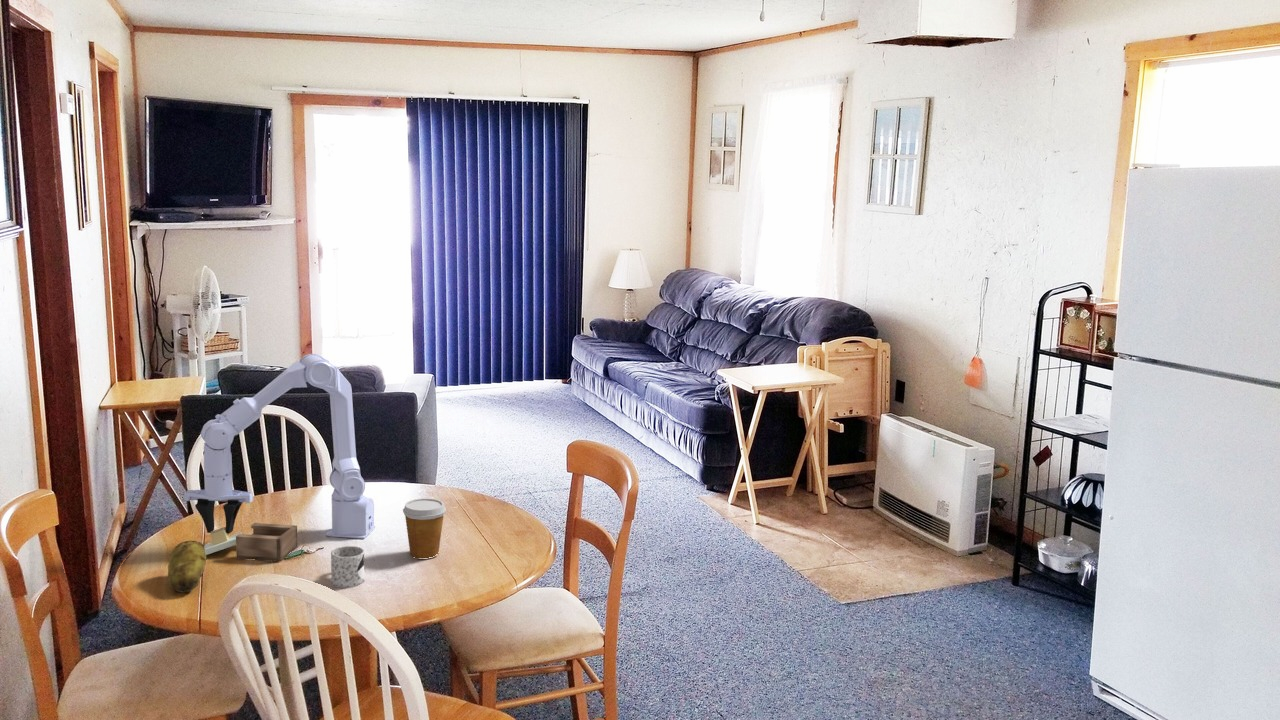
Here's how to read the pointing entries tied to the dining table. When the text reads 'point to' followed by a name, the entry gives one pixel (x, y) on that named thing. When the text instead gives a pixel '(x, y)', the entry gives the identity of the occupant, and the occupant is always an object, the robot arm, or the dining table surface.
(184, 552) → the potato
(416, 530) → the disposable coffee cup
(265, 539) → the walnut box
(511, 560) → the dining table surface
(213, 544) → the cover plate
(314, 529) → the dining table surface
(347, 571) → the mug
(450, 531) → the dining table surface
